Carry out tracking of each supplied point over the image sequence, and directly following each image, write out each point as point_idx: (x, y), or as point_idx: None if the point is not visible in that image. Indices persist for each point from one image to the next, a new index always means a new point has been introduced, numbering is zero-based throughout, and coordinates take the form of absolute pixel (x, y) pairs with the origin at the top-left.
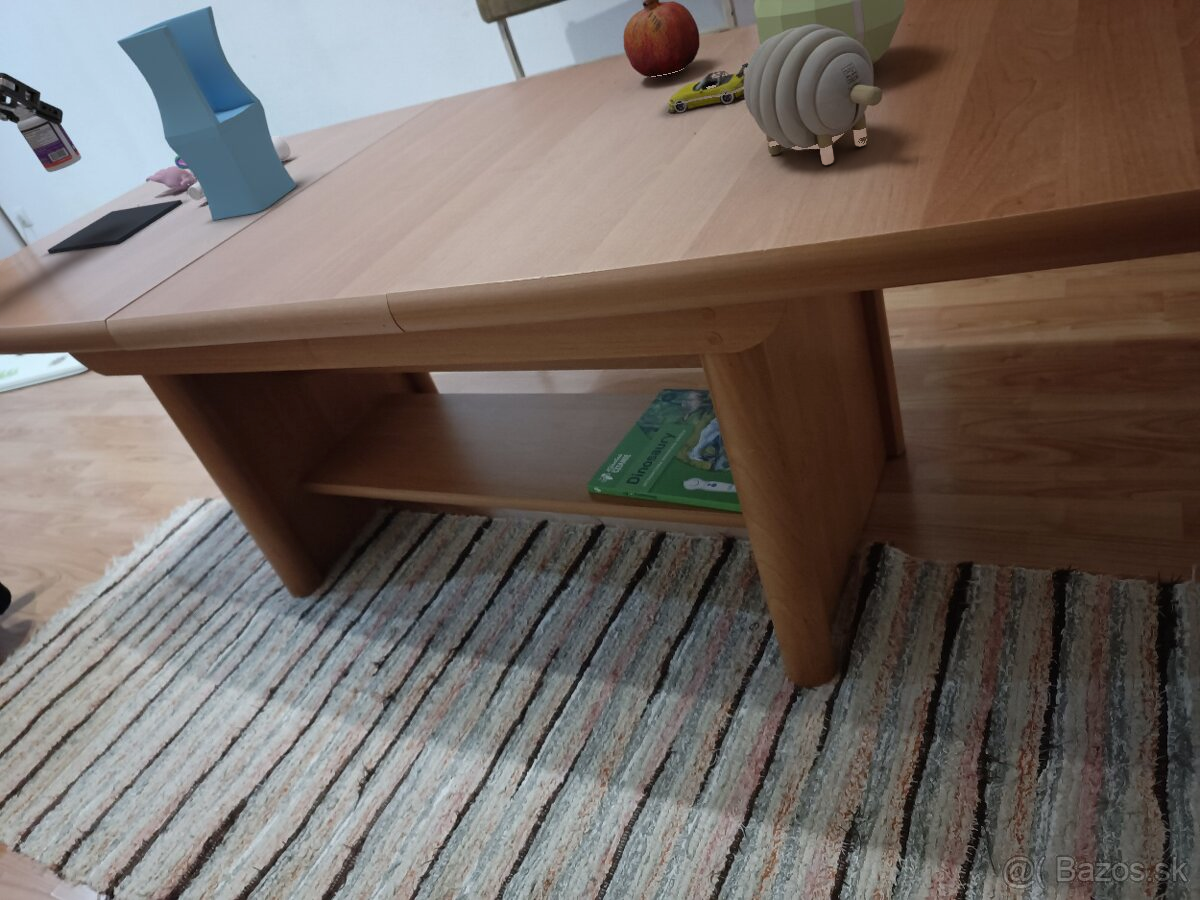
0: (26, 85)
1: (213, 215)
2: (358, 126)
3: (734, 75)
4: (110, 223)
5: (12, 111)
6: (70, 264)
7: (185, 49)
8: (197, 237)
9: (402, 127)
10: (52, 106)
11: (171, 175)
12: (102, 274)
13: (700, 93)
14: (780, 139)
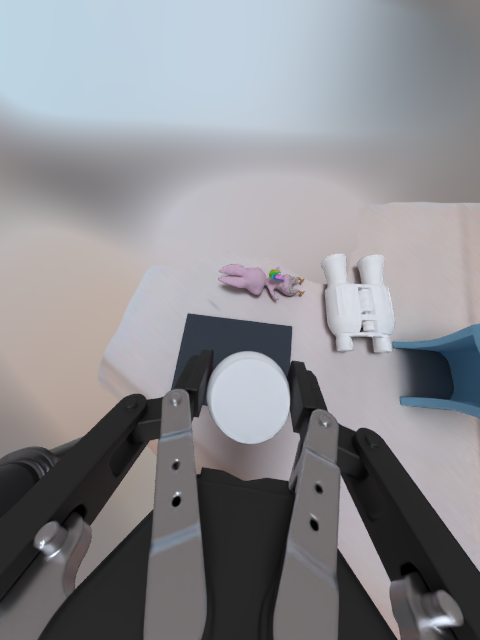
0: (427, 503)
1: (407, 405)
2: (394, 220)
3: None
4: (222, 354)
5: (195, 401)
6: (248, 453)
7: None
8: (421, 449)
9: (470, 252)
10: (319, 387)
11: (260, 285)
12: (347, 513)
13: None
14: None
